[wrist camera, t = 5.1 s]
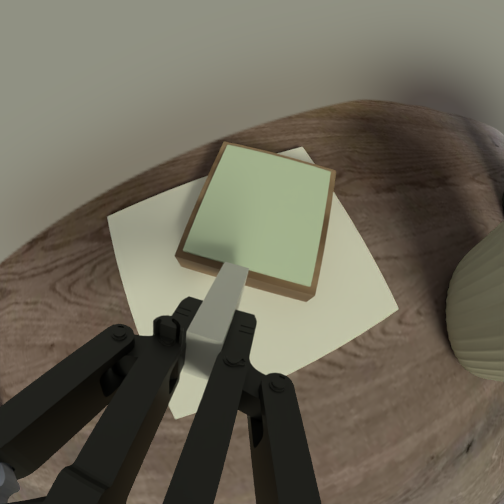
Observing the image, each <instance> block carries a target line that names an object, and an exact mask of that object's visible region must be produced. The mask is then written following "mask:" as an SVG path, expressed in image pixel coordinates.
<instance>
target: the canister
mask: <svg viewBox="0 0 504 504" xmlns="http://www.w3.org/2000/svg"><path fill="white" fill-rule="evenodd" d="M447 294H448V296H447V299H446V310H445V311H446V323H447V331H448V335H449V340H450V342H451V348H452V349H453V351H454V355H455V356H456V358H458V361H459V363H460V364H461V365H462V366H463V367H464V368H465V369H466V370H467V371H469V372H470V373H471V374H473V375H475V376H478V377H481V378H484V379H489V380H496V381H502V382H504V221H503V222H501V223H500V224H499V225H498V226H497V227H496V228H495V229H494V230H493V231H491V232H490V233H489V234H488V235H487V236H486V237H485V238H484V239H483V240H482V241H480V242H479V243H478V244H477V245H476V246H475V247H474V248H472V249H471V250H470V251H469V252H468V253H467V254H466V255H465V256H464V258H463V259H462V260H461V261H460V262H459V264H458V266H457V268H456V269H455V271H454V273H453V275H452V279H451V280H450V283H449V289H448V291H447Z"/></svg>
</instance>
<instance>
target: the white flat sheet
mask: <svg viewBox="0 0 504 504" xmlns="http://www.w3.org/2000/svg"><path fill="white" fill-rule="evenodd" d="M277 154H280V155H284V156H288V157H291V158H295V159H299V160H302V161H306V162H309V163H312V164H314V162H313V161H312V160H311V158H310V157H309V155H308V154H307V153H306V151H305V150H304V148H303V147H299V148H296V149H292V150H288V151H284V152H281V153H277ZM207 177H208V176H205V177H203V178H200V179H197V180H194V181H192V182H189V183H186V184H184V185H181V186H178V187H176V188H173V189H171V190H168V191H166V192H163V193H161V194H158V195H156V196H153V197H151V198H148V199H146V200H144V201H141V202H139V203H137V204H134V205H132V206H130V207H128V208H125V209H123V210H121V211H119V212H116V213H114V214H112V215H110V216H108V217H107V219H108V224H109V229H110V234H111V238H112V243H113V247H114V251H115V256H116V260H117V264H118V268H119V271H120V275H121V279H122V282H123V286H124V289H125V293H126V296H127V300H128V303H129V306H130V309H131V312H132V315H133V318H134V321H135V324H136V327H137V330H138V333H139V335H142V336H152V335H153V320H154V319H155V318H157V317H159V316H163V315H169V316H172V314H173V313H174V311H175V310H176V308H177V307H178V305H179V304H180V302H181V301H182V300H183V299H185V298H187V297H188V296H190V297H193V298H196V299H199V300H204V298H205V297H206V295H207V293H208V291H209V289H210V288H211V286H212V284H213V282H214V280H215V278H216V277H214V276H210V275H207V274H204V273H200V272H197V271H194V270H190V269H187V268H184V267H181V266H180V264H179V262H178V261H177V259H176V258H175V253H176V251H177V248H178V245H179V243H180V240H181V238H182V235H183V233H184V230H185V228H186V225H187V223H188V220H189V218H190V216H191V213H192V211H193V209H194V206H195V204H196V201H197V199H198V197H199V195H200V192H201V190H202V188H203V185H204V183H205V181H206V179H207ZM398 309H399V308H398V306H397V304H396V302H395V300H394V298H393V296H392V294H391V292H390V290H389V288H388V286H387V284H386V282H385V280H384V278H383V276H382V274H381V272H380V270H379V268H378V266H377V264H376V263H375V261H374V259H373V257H372V255H371V253H370V252H369V250H368V248H367V246H366V244H365V243H364V241H363V239H362V238H361V236H360V234H359V232H358V231H357V229H356V227H355V226H354V224H353V222H352V221H351V219H350V217H349V216H348V214H347V212H346V211H345V209H344V208H343V206H342V204H341V203H340V201H339V200H338V198H337V197H336V195H335V193H334V192H333V198H332V205H331V212H330V218H329V225H328V231H327V237H326V242H325V248H324V254H323V259H322V264H321V270H320V275H319V280H318V285H317V289H316V294H315V296H314V297H313V298H311V299H310V300H309V301H307V302H304V301H300V300H296V299H292V298H288V297H285V296H281V295H277V294H274V293H270V292H266V291H263V290H259V289H256V288H252V287H248V286H245V287H244V291H243V295H242V299H241V303H240V306H239V309H238V310H239V311H243V312H246V313H250V314H254V315H255V317H256V320H257V325H256V329H255V334H254V338H253V343H252V347H251V351H250V357H249V359H250V363H251V364H252V366H253V367H254V368H255V369H256V370H258V371H259V372H261V373H263V374H265V375H267V374H269V373H281V374H283V375H285V376H286V375H288V374H290V373H292V372H294V371H296V370H298V369H300V368H302V367H304V366H306V365H308V364H310V363H312V362H313V361H315V360H317V359H319V358H321V357H323V356H324V355H326V354H328V353H330V352H332V351H333V350H335V349H337V348H339V347H340V346H342V345H344V344H345V343H347V342H349V341H350V340H352V339H354V338H355V337H357V336H359V335H360V334H362V333H363V332H365V331H367V330H368V329H370V328H371V327H373V326H374V325H376V324H377V323H379V322H380V321H382V320H383V319H385V318H386V317H388V316H389V315H391V314H392V313H394V312H395V311H397V310H398ZM207 382H208V380H206V379H203V378H199V377H196V376H193V375H190V374H187V373H184V372H183V368H182V371H181V373H180V379H179V382H178V385H177V387H176V389H175V391H174V393H173V396H172V398H171V400H170V402H169V404H168V405H169V407H170V409H171V411H172V413H173V415H174V417H175V419H178V418H181V417H184V416H187V415H190V414H193V413H196V412H197V409H198V407H199V404H200V401H201V399H202V396H203V393H204V390H205V388H206V385H207Z"/></svg>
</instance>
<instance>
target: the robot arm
mask: <svg viewBox="0 0 504 504" xmlns="http://www.w3.org/2000/svg"><path fill="white" fill-rule="evenodd" d="M503 208H504V194H503ZM248 271H249V268H246V267H243V266H239V265H236V264H232V263H228V262H224V264H223V266H222V268H221V270H220V271H219V273H218V275H217V277H216V278H215V280H214V282H213V284H212V286H211V288H210V289H209V291H208V293H207V295H206V297H205V298H204V300H199V299H196V298H193V297H190V296H188V297H187V298H185V299H183V300H182V301H181V302H180V304H179V305H178V307H177V308H176V310H175V311H174V313H173V314H172V316H169V315H163V316H159V317H157V318H155V319H154V320H153V335H152V336H142V335H134V332H133V330H132V329H131V328H130V327H128V326H126V325H123V324H116V325H112V326H110V327H108V328H107V329H105V330H104V331H103V332H101V333H100V334H98V335H97V336H96V337H94V338H93V339H91V340H90V341H89V342H87V343H86V344H84V345H83V346H82V347H80V348H79V349H77V350H76V351H75V352H73V353H72V354H71V355H69V356H68V357H66V358H65V359H64V360H62V361H61V362H60V363H58V364H57V365H56V366H54V367H53V368H51V369H50V370H49V371H47V372H46V373H45V374H43V375H42V376H41V377H39V378H38V379H37V380H35V381H34V382H33V383H31V384H30V385H29V386H27V387H26V388H25V389H23V390H22V391H21V392H19V393H18V394H17V395H15V396H14V397H13V398H11V399H10V400H9V401H7V402H6V403H5V404H4V405H2V406H1V407H0V504H126V501H127V497H128V495H129V493H130V490H131V488H132V486H133V483H134V481H135V479H136V476H137V474H138V472H139V470H140V467H141V465H142V463H143V460H144V458H145V456H146V454H147V451H148V449H149V447H150V445H151V442H152V440H153V438H154V436H155V433H156V431H157V429H158V427H159V424H160V422H161V420H162V418H163V416H164V413H165V411H166V409H167V407H168V404H169V402H170V400H171V398H172V396H173V393H174V391H175V389H176V387H177V385H178V382H179V379H180V373H181V371H182V368H183V372H184V373H187V374H190V375H193V376H196V377H199V378H203V379H206V380H208V382H207V385H206V388H205V390H204V393H203V396H202V399H201V401H200V404H199V407H198V409H197V412H196V415H195V418H194V420H193V423H192V426H191V428H190V431H189V434H188V437H187V439H186V442H185V445H184V447H183V450H182V453H181V456H180V458H179V461H178V464H177V466H176V469H175V472H174V474H173V477H172V480H171V483H170V485H169V488H168V491H167V493H166V496H165V499H164V501H163V504H213V503H214V500H215V496H216V492H217V489H218V485H219V481H220V477H221V474H222V470H223V466H224V462H225V458H226V454H227V451H228V447H229V443H230V439H231V435H232V431H233V427H234V423H235V419H236V415H237V410H240V411H241V412H243V413H245V414H247V418H248V429H249V439H250V449H251V459H252V469H253V478H254V487H255V496H256V504H321V500H320V496H319V491H318V487H317V483H316V478H315V474H314V470H313V465H312V461H311V457H310V452H309V448H308V444H307V439H306V435H305V431H304V427H303V423H302V418H301V414H300V410H299V406H298V402H297V397H296V393H295V389H294V385H293V383H292V381H291V380H290V379H289V378H288V377H287V376H285V375H283V374H281V373H269V374H267V375H265V374H263V373H261V372H259V371H258V370H256V369H255V368H254V367H253V366H252V364H251V363H250V359H249V357H250V351H251V347H252V343H253V338H254V334H255V329H256V325H257V320H256V317H255V315H254V314H250V313H246V312H243V311H239V310H238V309H239V306H240V303H241V299H242V295H243V291H244V287H245V283H246V279H247V275H248ZM107 405H108V406H107ZM106 406H107V408H106V409H105V411H104V413H103V414H102V416H101V418H100V419H99V421H98V423H97V424H96V426H95V428H94V429H93V431H92V433H91V434H90V436H89V438H88V439H87V441H86V443H85V445H84V446H83V448H82V450H81V452H80V453H79V455H78V457H77V459H76V460H75V462H74V463H73V464H72V465H70V466H67V467H65V468H63V469H62V470H61V472H60V473H59V474H58V476H57V478H56V480H55V482H54V483H53V485H52V487H51V489H50V491H49V493H48V494H47V496H45V497H40V498H36V499H31V500H25V501H19V502H12V503H7V502H8V498H9V497H10V496H11V495H12V494H14V493H16V492H18V491H19V490H20V486H19V483H18V482H17V480H18V479H21V478H24V477H26V476H28V475H30V474H31V473H33V472H34V471H35V470H37V469H38V468H39V467H40V466H41V465H42V464H44V463H45V462H46V461H47V460H48V459H49V458H50V457H51V456H52V455H54V454H55V453H56V452H57V451H58V450H59V449H60V448H61V447H62V446H63V445H65V444H66V443H67V442H68V441H69V440H70V439H71V438H72V437H73V436H74V435H75V434H77V433H78V432H79V431H80V430H81V429H82V428H83V427H84V426H85V425H86V424H87V423H88V422H90V421H91V420H92V419H93V418H94V417H95V416H96V415H97V414H98V413H99V412H100V411H101V410H102V409H104V408H105V407H106Z"/></svg>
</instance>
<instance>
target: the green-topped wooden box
mask: <svg viewBox="0 0 504 504" xmlns="http://www.w3.org/2000/svg"><path fill="white" fill-rule="evenodd" d="M335 176H336V171H335V170H332V169H329V168H325V167H322V166H319V165H316V164H312V163H309V162H306V161H302V160H299V159H295V158H291V157H288V156H284V155H280V154H276V153H273V152H269V151H264V150H260V149H256V148H252V147H248V146H243V145H239V144H234V143H229V142H223V145H222V147H221V149H220V151H219V153H218V155H217V157H216V159H215V161H214V164H213V166H212V168H211V170H210V172H209V174H208V177H207V179H206V181H205V183H204V185H203V188H202V190H201V192H200V195H199V197H198V199H197V201H196V204H195V206H194V209H193V211H192V213H191V216H190V218H189V220H188V223H187V225H186V228H185V230H184V233H183V235H182V238H181V240H180V243H179V245H178V248H177V251H176V253H175V258H176V259H177V261H178V262H179V264H180V266H181V267H184V268H187V269H190V270H194V271H197V272H200V273H204V274H207V275H210V276H214V277H217V275H218V273H219V271H220V270H221V268H222V266H223V264H224V262H228V263H232V264H236V265H239V266H243V267H246V268H249V271H248V275H247V279H246V283H245V286H248V287H252V288H256V289H259V290H263V291H266V292H270V293H274V294H277V295H281V296H285V297H288V298H292V299H296V300H300V301H304V302H307V301H309V300H310V299H311V298H313V297H314V296H315V294H316V289H317V285H318V280H319V275H320V270H321V264H322V259H323V254H324V248H325V242H326V237H327V231H328V225H329V218H330V212H331V205H332V198H333V191H334V184H335Z"/></svg>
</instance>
